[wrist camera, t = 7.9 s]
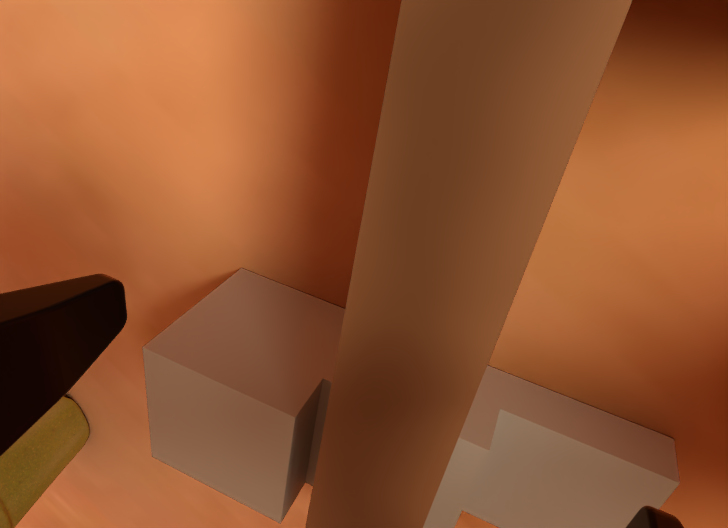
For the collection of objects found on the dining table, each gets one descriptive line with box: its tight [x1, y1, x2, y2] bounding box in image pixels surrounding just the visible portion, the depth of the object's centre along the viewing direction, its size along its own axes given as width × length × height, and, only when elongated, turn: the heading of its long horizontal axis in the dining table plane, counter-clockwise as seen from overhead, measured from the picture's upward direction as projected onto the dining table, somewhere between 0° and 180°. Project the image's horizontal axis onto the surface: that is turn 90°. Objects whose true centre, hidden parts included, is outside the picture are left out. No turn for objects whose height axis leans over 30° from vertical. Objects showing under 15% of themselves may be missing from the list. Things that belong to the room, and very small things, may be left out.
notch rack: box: [142, 268, 680, 528], centre depth 20 cm, size 18×6×6 cm, turn 81°
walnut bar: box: [306, 0, 632, 528], centre depth 13 cm, size 4×28×3 cm, turn 171°
